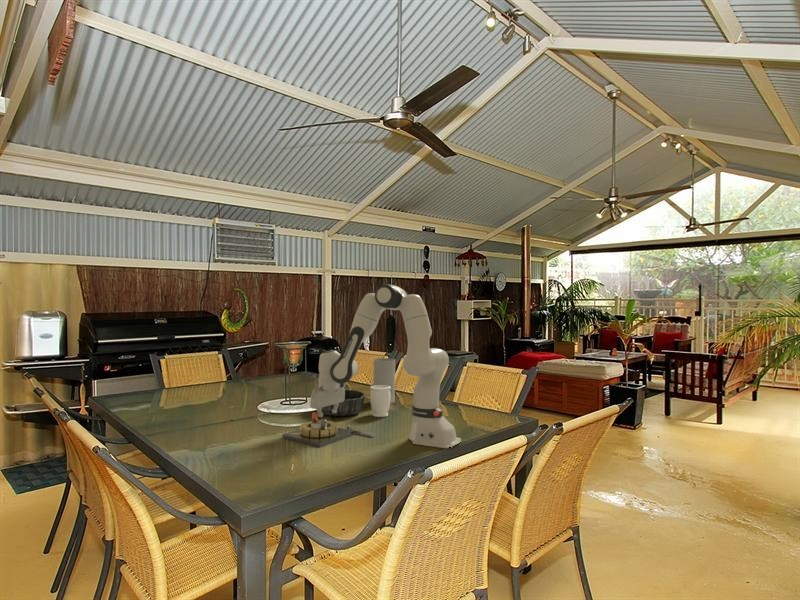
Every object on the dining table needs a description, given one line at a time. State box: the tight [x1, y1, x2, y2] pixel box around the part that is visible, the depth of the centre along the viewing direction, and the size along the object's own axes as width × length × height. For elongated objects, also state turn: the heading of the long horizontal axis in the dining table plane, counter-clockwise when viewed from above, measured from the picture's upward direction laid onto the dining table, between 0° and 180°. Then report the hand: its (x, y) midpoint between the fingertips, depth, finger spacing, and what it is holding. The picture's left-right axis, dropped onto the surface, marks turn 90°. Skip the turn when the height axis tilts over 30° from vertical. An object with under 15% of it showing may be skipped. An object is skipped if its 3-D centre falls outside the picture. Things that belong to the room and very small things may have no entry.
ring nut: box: [299, 411, 339, 438], centre depth 208 cm, size 16×16×7 cm
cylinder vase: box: [372, 357, 396, 405], centre depth 277 cm, size 12×12×25 cm
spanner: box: [345, 424, 376, 438], centre depth 213 cm, size 16×3×3 cm, turn 57°
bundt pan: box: [321, 388, 367, 418], centre depth 251 cm, size 26×26×10 cm
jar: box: [369, 385, 391, 418], centre depth 247 cm, size 11×10×15 cm
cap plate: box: [281, 422, 355, 448], centre depth 208 cm, size 22×22×6 cm
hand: (327, 414), depth 221 cm, fingers open, 8 cm apart
